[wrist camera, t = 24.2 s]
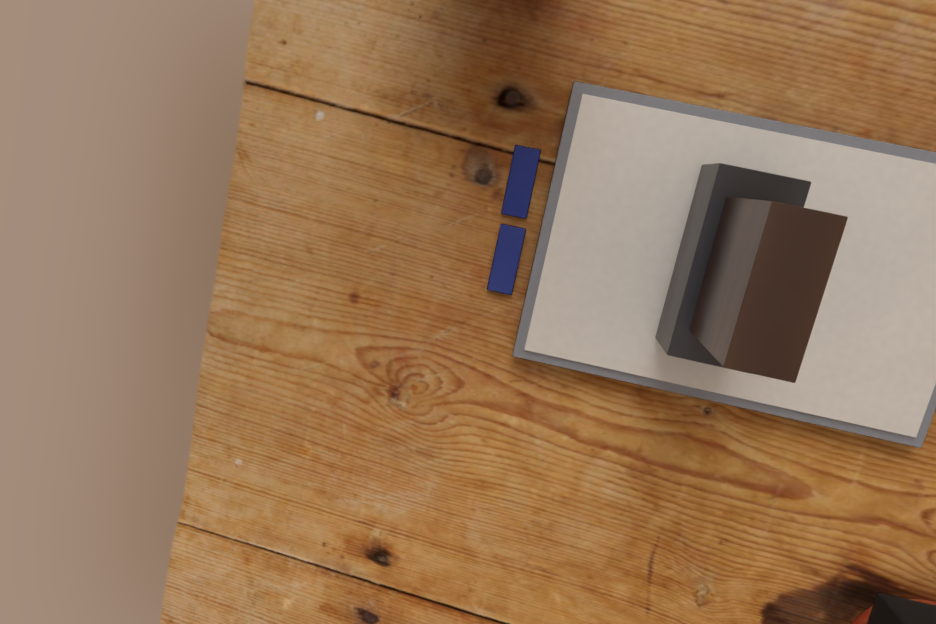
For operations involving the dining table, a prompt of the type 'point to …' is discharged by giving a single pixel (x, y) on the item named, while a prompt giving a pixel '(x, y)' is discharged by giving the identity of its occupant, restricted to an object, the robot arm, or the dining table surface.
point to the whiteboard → (658, 241)
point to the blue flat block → (520, 181)
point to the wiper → (749, 273)
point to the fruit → (862, 619)
